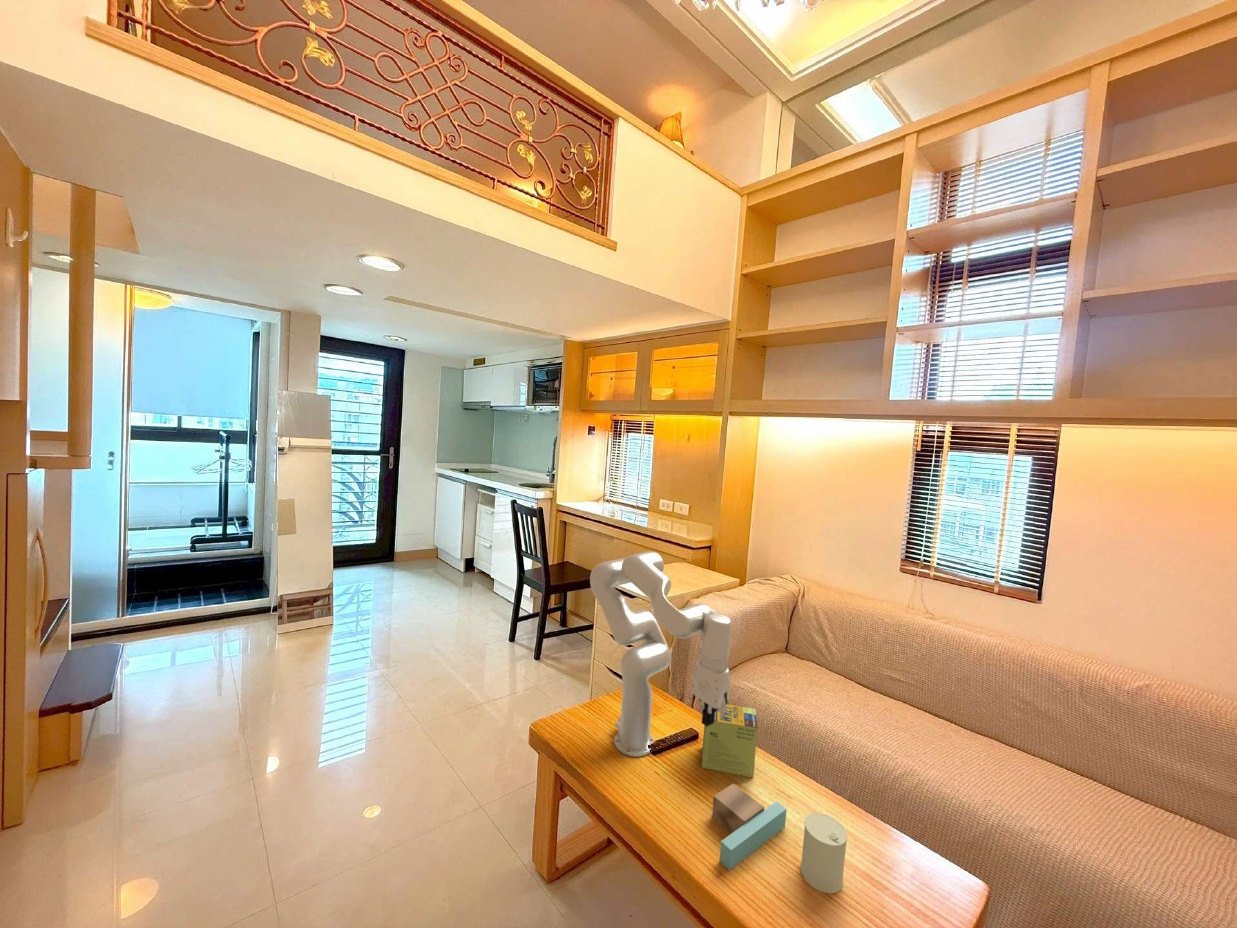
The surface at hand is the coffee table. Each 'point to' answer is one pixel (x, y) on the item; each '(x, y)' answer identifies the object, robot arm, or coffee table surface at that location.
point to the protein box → (731, 741)
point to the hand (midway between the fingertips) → (707, 723)
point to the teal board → (752, 835)
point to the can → (823, 853)
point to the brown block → (734, 808)
